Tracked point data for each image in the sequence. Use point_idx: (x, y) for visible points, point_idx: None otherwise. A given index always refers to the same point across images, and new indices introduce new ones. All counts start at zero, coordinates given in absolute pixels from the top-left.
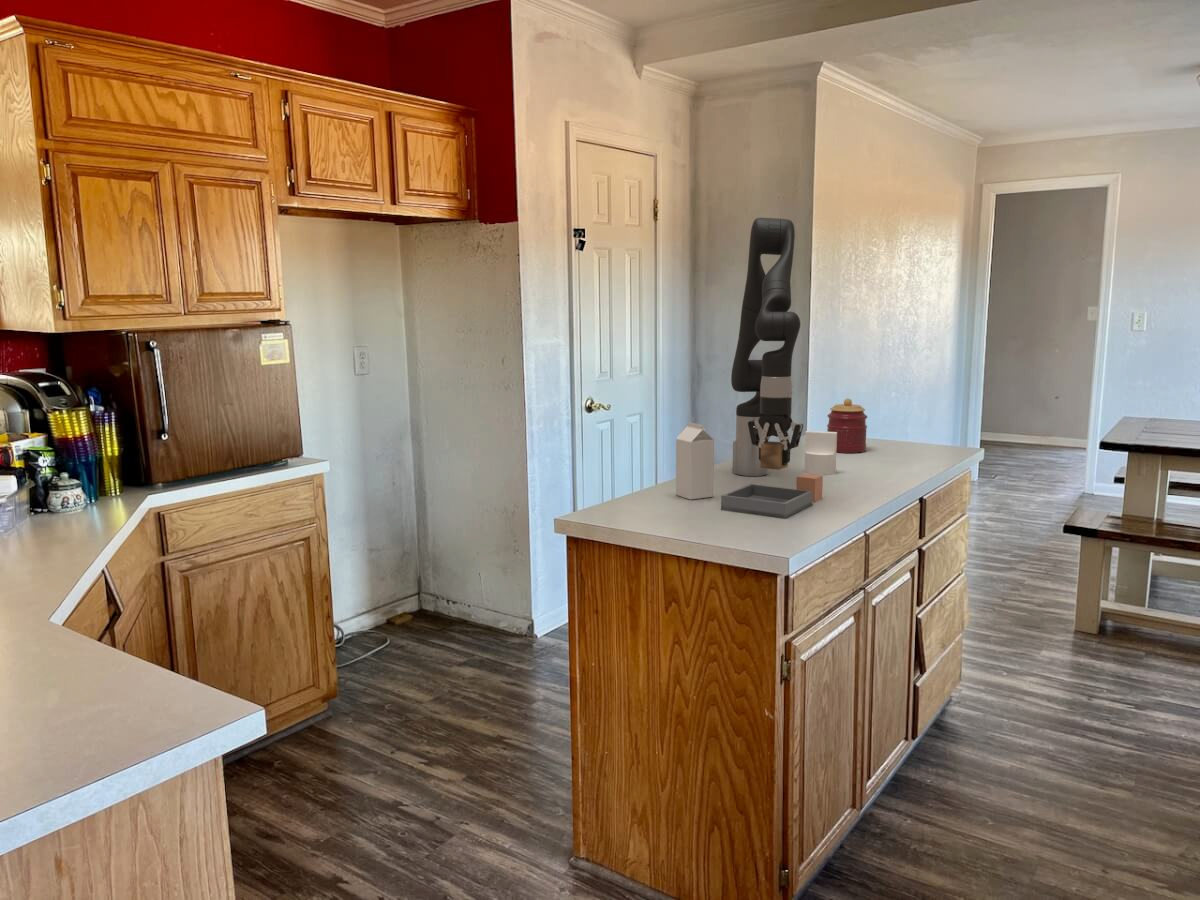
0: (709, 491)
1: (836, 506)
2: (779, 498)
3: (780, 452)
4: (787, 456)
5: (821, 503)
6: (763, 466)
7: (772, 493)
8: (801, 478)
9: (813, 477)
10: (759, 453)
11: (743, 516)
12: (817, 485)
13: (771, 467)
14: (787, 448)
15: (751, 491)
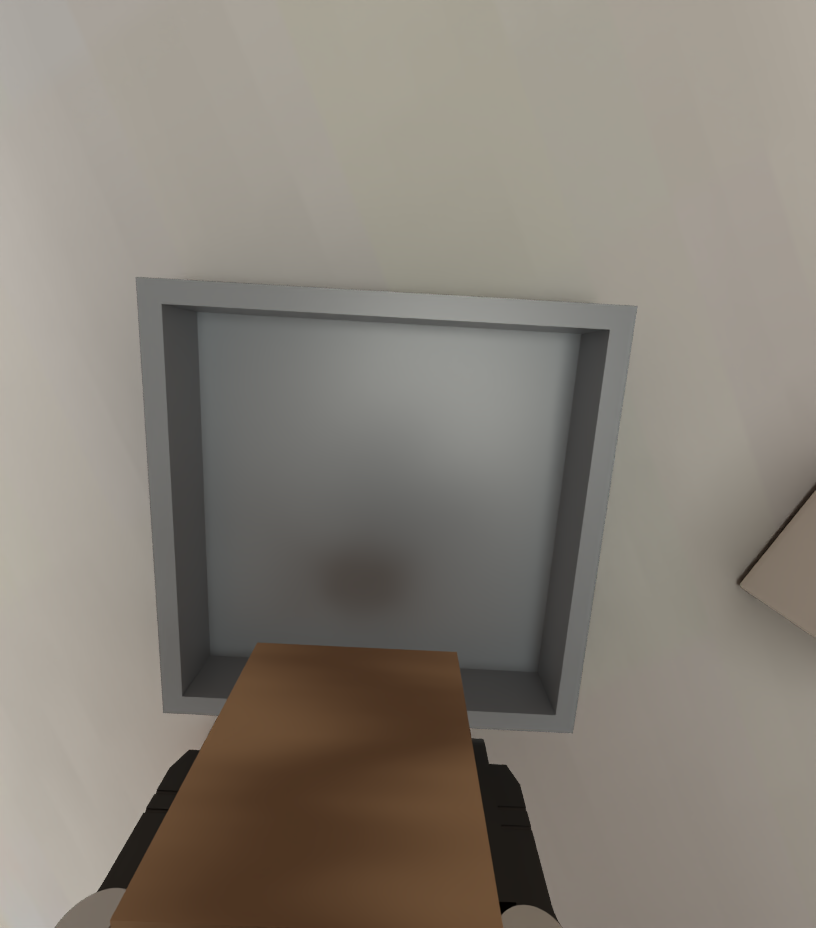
0: (781, 577)
1: (90, 688)
2: None
3: (178, 813)
4: (146, 820)
5: (179, 714)
6: (426, 662)
7: None
8: None
9: None
10: (526, 840)
11: (414, 216)
12: None
13: (339, 657)
14: (60, 924)
15: (545, 677)
